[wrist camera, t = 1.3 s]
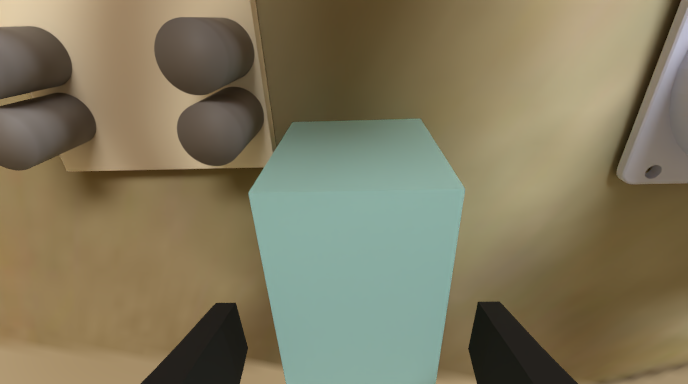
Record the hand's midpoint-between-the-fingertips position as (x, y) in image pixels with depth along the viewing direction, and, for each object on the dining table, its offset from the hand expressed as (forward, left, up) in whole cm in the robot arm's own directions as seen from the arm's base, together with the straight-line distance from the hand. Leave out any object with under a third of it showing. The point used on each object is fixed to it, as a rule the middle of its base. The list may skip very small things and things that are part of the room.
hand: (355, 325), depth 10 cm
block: (0, 0, -5) cm, 5 cm away
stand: (+7, -7, -5) cm, 11 cm away
